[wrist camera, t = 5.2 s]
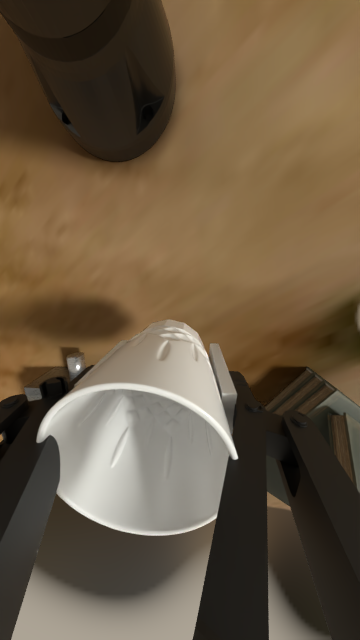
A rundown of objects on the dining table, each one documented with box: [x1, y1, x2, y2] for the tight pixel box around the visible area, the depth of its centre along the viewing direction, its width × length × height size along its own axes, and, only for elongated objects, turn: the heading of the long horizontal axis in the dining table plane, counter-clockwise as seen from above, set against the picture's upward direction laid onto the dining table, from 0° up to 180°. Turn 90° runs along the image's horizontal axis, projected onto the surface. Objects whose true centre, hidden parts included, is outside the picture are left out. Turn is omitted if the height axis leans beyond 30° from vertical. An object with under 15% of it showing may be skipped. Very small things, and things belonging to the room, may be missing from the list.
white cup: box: [36, 319, 238, 536], centre depth 11 cm, size 8×8×10 cm
